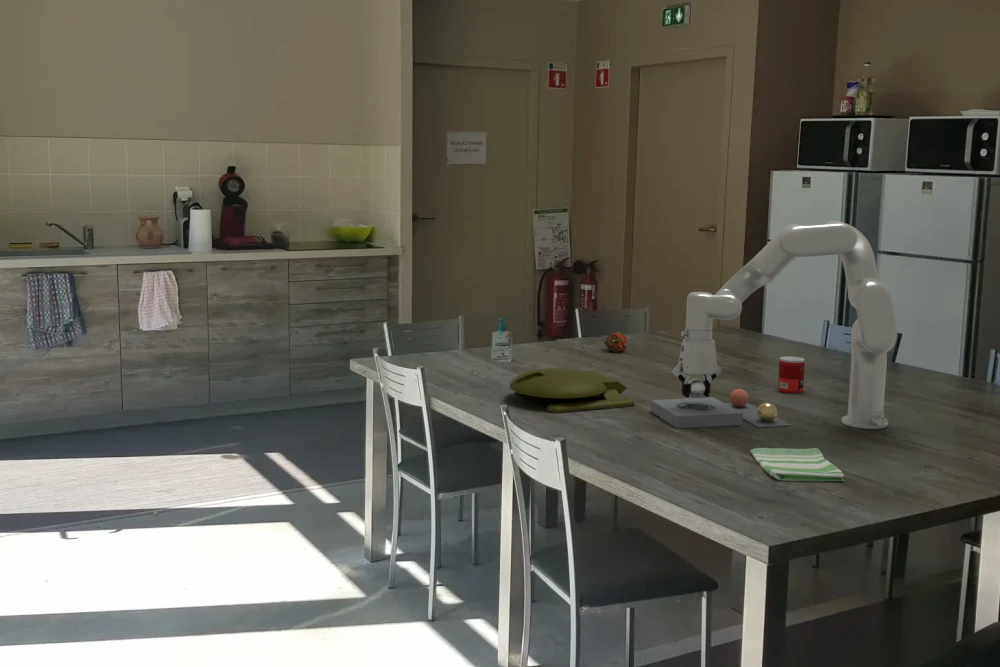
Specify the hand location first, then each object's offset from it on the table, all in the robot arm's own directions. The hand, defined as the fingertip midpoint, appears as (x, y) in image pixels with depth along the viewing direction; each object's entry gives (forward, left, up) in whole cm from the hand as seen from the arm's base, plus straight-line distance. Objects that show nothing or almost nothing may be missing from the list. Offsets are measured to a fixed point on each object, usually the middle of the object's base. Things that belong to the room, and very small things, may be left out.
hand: (695, 395), depth 296 cm
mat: (0, -18, -7) cm, 19 cm away
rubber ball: (+9, -18, -4) cm, 21 cm away
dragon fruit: (+106, -12, -7) cm, 107 cm away
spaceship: (+30, +31, -7) cm, 44 cm away
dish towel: (-50, -5, -7) cm, 51 cm away
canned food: (+27, -45, -7) cm, 53 cm away
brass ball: (-9, -18, -4) cm, 21 cm away
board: (0, 0, -7) cm, 7 cm away
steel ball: (0, 0, +2) cm, 2 cm away
